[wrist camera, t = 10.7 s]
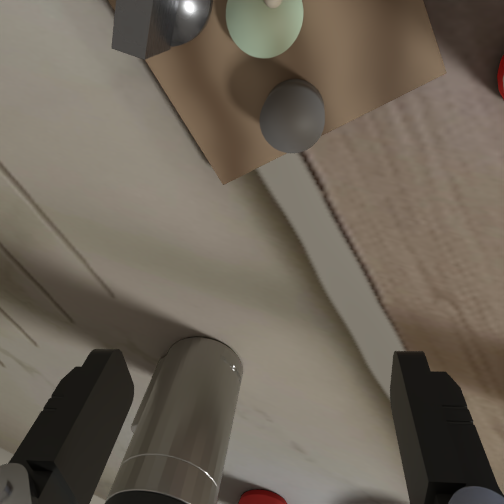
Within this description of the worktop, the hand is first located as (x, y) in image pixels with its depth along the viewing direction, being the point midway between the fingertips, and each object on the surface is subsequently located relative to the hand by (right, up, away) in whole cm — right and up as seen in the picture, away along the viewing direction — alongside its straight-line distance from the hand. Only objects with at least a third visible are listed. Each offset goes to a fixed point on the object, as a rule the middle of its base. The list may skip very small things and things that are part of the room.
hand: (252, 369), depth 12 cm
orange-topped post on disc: (-6, +21, +16) cm, 26 cm away
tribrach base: (+1, +20, +17) cm, 27 cm away
